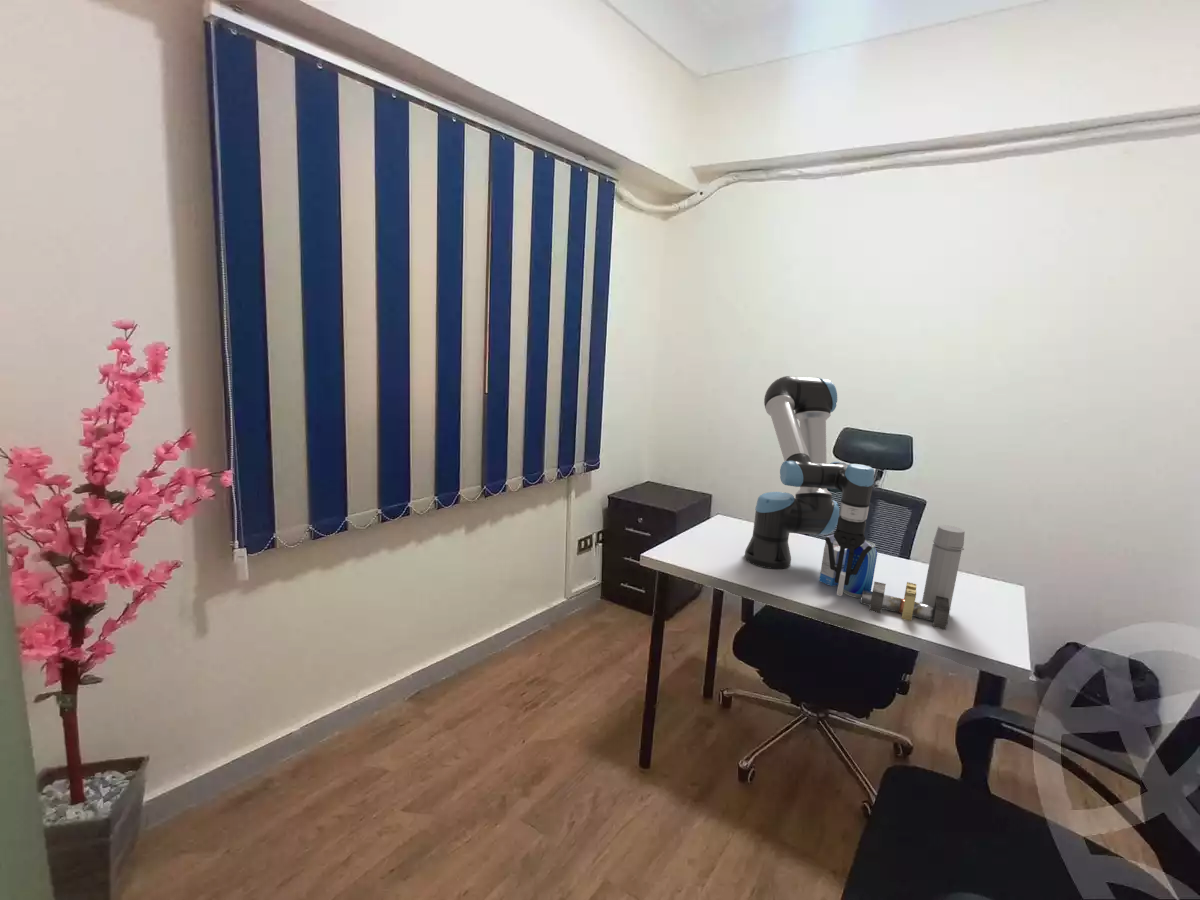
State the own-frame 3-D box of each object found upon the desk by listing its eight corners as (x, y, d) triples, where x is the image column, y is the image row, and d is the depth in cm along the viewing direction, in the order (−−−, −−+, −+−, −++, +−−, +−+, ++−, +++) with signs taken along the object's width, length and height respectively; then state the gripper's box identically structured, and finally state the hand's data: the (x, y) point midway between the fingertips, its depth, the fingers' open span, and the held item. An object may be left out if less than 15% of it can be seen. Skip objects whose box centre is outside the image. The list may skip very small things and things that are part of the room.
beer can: (834, 588, 183) (842, 539, 180) (854, 585, 187) (862, 537, 184) (855, 600, 176) (864, 549, 173) (876, 597, 179) (885, 546, 176)
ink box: (832, 587, 184) (839, 542, 181) (818, 581, 188) (825, 536, 186) (848, 582, 189) (855, 538, 186) (835, 576, 193) (841, 533, 190)
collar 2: (932, 626, 162) (936, 606, 161) (932, 615, 169) (936, 595, 168) (945, 629, 161) (949, 609, 160) (944, 618, 168) (948, 598, 167)
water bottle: (938, 618, 167) (955, 534, 163) (914, 606, 174) (929, 525, 170) (960, 614, 171) (977, 531, 166) (935, 603, 178) (951, 523, 173)
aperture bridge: (901, 618, 166) (906, 591, 164) (902, 607, 173) (907, 582, 171) (911, 621, 165) (916, 594, 163) (911, 610, 172) (916, 584, 170)
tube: (860, 604, 172) (862, 590, 172) (861, 601, 176) (863, 588, 176) (947, 626, 163) (949, 611, 162) (946, 622, 166) (948, 608, 166)
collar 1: (869, 610, 169) (872, 590, 168) (871, 600, 177) (874, 581, 175) (880, 613, 168) (884, 593, 167) (882, 603, 175) (885, 583, 174)
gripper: (827, 516, 172) (815, 592, 177) (876, 526, 166) (862, 604, 171) (830, 510, 178) (818, 583, 183) (877, 519, 173) (864, 594, 178)
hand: (839, 593), depth 177 cm, fingers closed
